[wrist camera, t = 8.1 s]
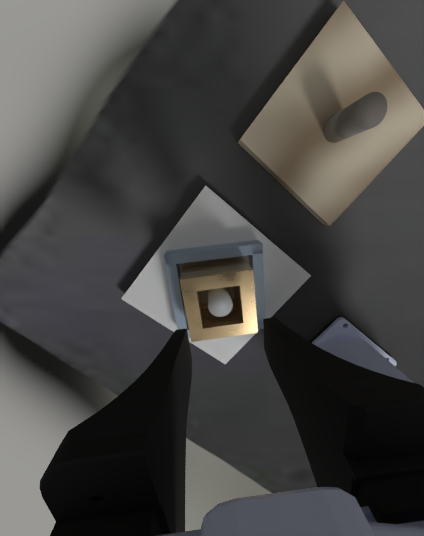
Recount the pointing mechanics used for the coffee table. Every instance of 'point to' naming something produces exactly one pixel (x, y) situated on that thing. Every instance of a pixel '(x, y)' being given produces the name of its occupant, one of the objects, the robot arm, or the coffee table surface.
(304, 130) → the stand
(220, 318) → the tan square ring block
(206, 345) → the white peg base
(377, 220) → the coffee table surface
